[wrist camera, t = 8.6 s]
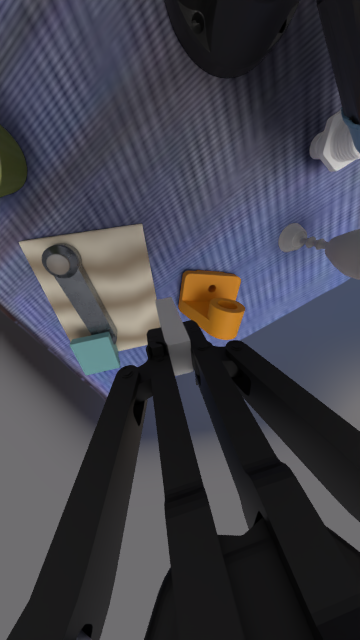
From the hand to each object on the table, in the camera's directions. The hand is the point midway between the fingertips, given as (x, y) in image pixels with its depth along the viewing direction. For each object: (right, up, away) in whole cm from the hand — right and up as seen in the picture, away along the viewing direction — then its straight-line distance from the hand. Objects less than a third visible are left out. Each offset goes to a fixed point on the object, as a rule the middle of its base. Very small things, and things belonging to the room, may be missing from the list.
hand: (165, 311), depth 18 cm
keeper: (-14, -5, +19) cm, 24 cm away
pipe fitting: (+23, +26, +12) cm, 37 cm away
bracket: (+6, +5, +21) cm, 22 cm away
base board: (-12, +3, +17) cm, 21 cm away
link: (-14, +3, +14) cm, 20 cm away
